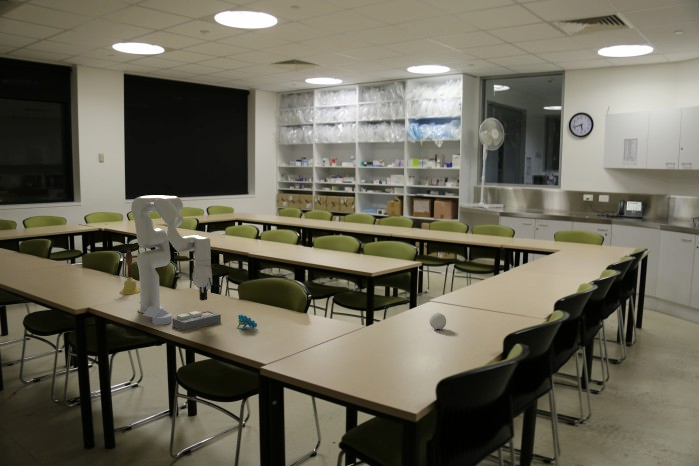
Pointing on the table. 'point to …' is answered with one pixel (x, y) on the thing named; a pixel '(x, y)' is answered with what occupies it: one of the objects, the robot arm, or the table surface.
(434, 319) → the ball
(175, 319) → the button panel
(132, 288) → the handbell
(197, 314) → the button
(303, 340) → the table surface
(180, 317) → the button
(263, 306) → the table surface
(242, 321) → the blue flower cluster
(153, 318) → the wedge on round base
